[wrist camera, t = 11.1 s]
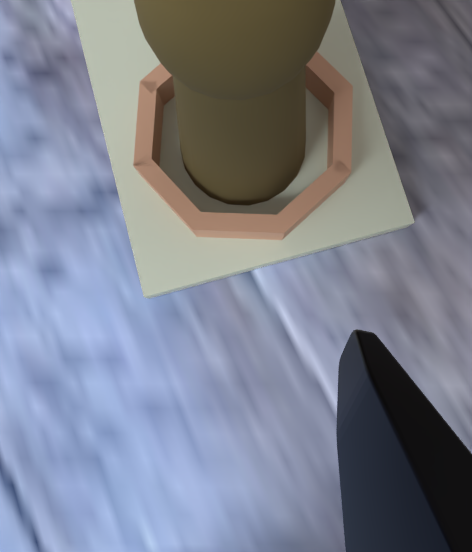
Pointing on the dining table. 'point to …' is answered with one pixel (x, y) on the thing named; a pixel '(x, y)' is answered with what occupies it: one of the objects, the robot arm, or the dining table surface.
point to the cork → (238, 87)
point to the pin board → (215, 214)
